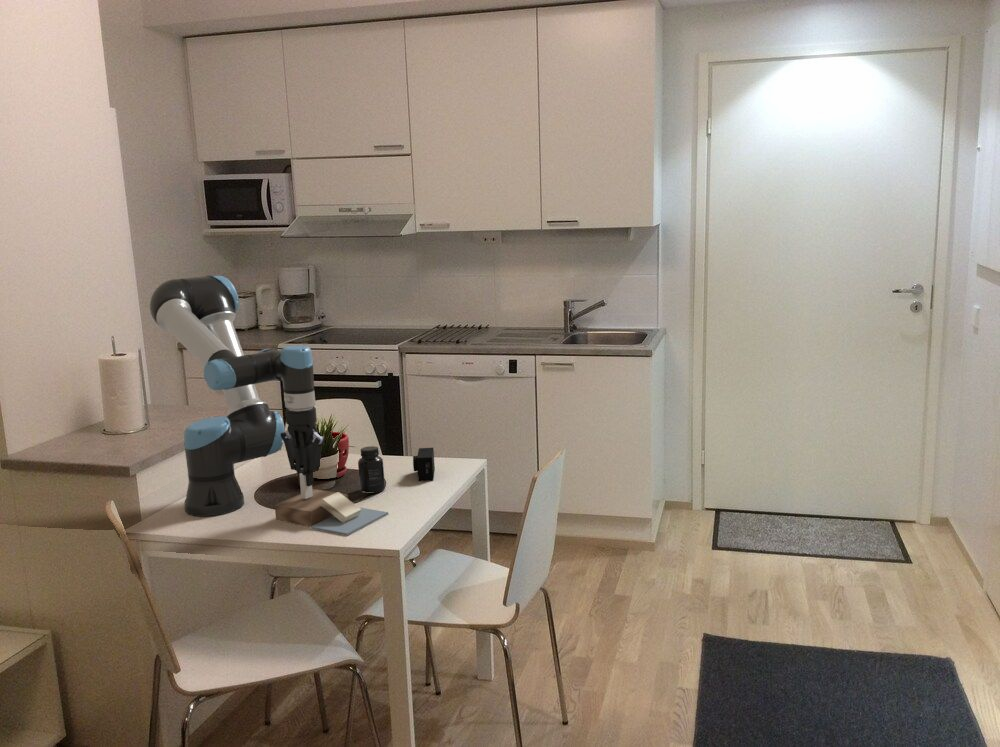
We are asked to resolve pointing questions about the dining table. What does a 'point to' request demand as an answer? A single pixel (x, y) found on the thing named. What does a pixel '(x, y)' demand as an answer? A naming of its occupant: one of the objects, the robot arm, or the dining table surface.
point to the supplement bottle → (371, 470)
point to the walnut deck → (304, 509)
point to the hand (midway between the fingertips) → (307, 497)
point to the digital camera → (424, 464)
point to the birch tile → (340, 507)
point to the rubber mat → (350, 522)
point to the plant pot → (342, 446)
